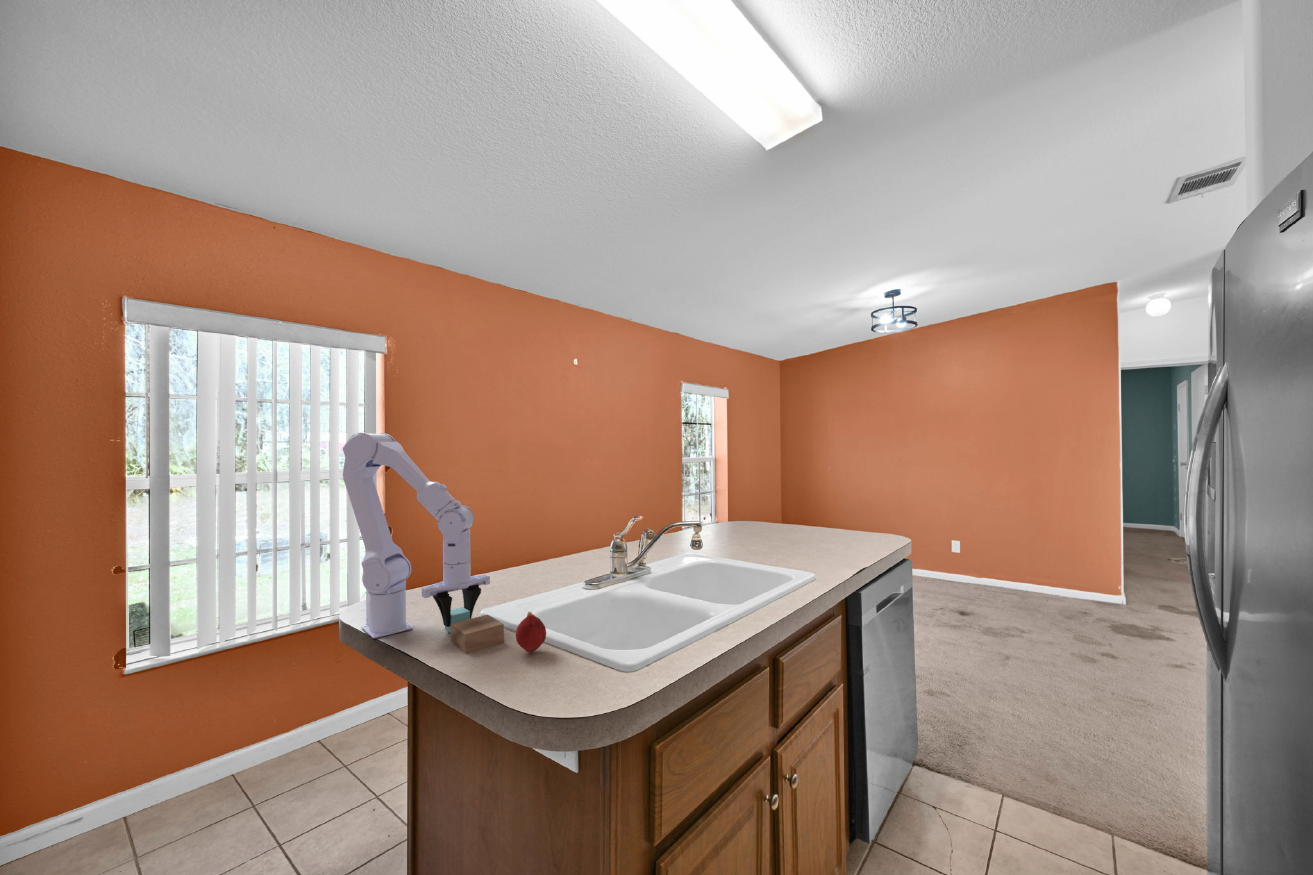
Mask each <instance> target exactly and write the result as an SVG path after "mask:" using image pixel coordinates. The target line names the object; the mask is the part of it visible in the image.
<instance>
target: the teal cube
mask: <svg viewBox="0 0 1313 875" xmlns="http://www.w3.org/2000/svg"><path fill="white" fill-rule="evenodd" d="M468 619H470V611H469V610H467V609H465V608H464V606H462V607H458V608H453V609H451V624H452V623H456V622H460V621H464V620H468ZM451 624H450V626H449V627H446V626H445V625H444V631H446V632H448V633H450V634H451Z"/></svg>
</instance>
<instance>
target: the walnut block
mask: <svg viewBox="0 0 1313 875" xmlns="http://www.w3.org/2000/svg"><path fill="white" fill-rule="evenodd" d="M504 626H505V623H503V622H502V621H499V620H497V619H496V618H495V617H493V616H491V615H489V614H484V615H481V616H477V617H471V619H468V620H464V621H460V622H456V623H452V624H451V633H450V642H451V643H452V644H453V645H455V646H456V647H457V648H458V649H459V650H460V651H461V652H463V653H464V654H468V653H471V652H475V651H477V650H481V649H485V648H488V647H491V646H496V645H499V644H503V643H504V642H505V633H504V631H505V630H504V629H505V627H504Z"/></svg>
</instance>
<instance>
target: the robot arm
mask: <svg viewBox="0 0 1313 875" xmlns="http://www.w3.org/2000/svg"><path fill="white" fill-rule="evenodd" d="M342 451H343V454H344V462H343V469H342V479H343V481H344V485H345V487H346V488H345V489H346V491H347V495H348V497H349V501H350V503H351V507H352V510H353V514H354V517H355V519H356V522H357V526H358V529H359V533H360V536H361V540H362V542H363V545H364V549H365V550H366V551H365V552H366V553H365V554H364V557H363V559H362V561H361V568H362V578H361V581H362V585H363V587H364V589H366V590H367V592H368V594H367V596H366V601H365V606H366V610H365V615H366V617H365V618H366V620H365V623H366V624H363V625H361V629H362V630H364V631H365V632H366V633H367V635H369V636H370V637H371V638H372V639H378V638H382V637H385V636H389V635H394V634H396V633H401V632H402V633H403V632H404V631H409V630H412V629H413V626H412V624H410V623H409V622H407V617H406V616H407V594H406V593H407V592H406V591H407V579H408V578H409V577H410V575H411V573H412V565H411V562H410V560H409V558H407V557H406V556H405V554H404V552H403V550H402V549H403V548H401V547H400V546H398V545H397V544H395V543H394V540H393V538H392V534H391V532H390V528H389V525H388V522H387V519H386V515H385V512H384V510H383V506H382V503H381V500H380V496H379V494H378V490H377V486H376V484H375V481H374V480H375V479H374V476H375V475H376V473H377V472H378V470H379V469H380V468H381V467H382V466H385V467H390V468H392V469H393V470H394V472H396V474H398V475H399V476H400V477H401V478H402V479H403V480H405V482H407V484H408V485H410V486H411V487H412V488H413V489H414V490H415V491H416V500H417V501H418V502H419V504H421V506H423V507H424V508H425V509H426V510H427V512H429V514H430V515H432V517H433V518H434V519H435V520H436V521H437V528H438V530H439V532H441V534H442V571H443V572H442V576H443V577H442V579H443V580H442V581H439V582H435V583H433V584H430V585H426V586H422V587H421V597H422V598H423V599H428V598H430V597H432V598H433V600H434V601H435V603H436V605H437V607H438V609H439V611H440V614H441V618H442V622H443V626H444V627H445V626H446V627H449V626H450V624H451V610H452V602H453V597H452V596H450V593H451V592H455V591H460V590H461V591H462V598H463V599H462V600H463V608H465V609H467V610H469V611H470V619H472V618H473V612H474V609H475V606H476V603H477V601H478V599H479V598H480V595H481V594H482V588H481V587H480V586H483V585H485V586H488V585H490V584H491V576H490V575H489V574H481V575H472V573H471V572H472V570H471V569H472V567H471V566H472V564H471V563H472V560H471V559H472V558H471V554H472V553H471V552H472V551H471V528H472V526H473V525H474V523H475V516H474V513H473V512H472V510H471V507H469V506H467V505H462V503H461V501H460V500H456V498H454V497H453V495H452V494H450V492H449V491H448V487H447V486H446V484H445V483H440V482H439V481H430V480H429V479H428V477H427V476H426V475H425V473H424V472H422V470H421V469H420V468H419V467H418V465H417V464H416V463H415V461H413V459H412V458H411V457H410V456H409V455H408V453H407V452H406V451H405V450H404V448H403V445H402V444H401V443H399V442H398V441H396V439H395V438H394V437H393V436H392V435H391V434H388V433H384V432H380V433H367V432H357V433H356V432H355V433H354V434H353V435H351V436H350V437H349V438H348V440H347V441H346V443H345V444H344V445H343V447H342ZM471 575H472V576H471Z"/></svg>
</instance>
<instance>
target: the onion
mask: <svg viewBox="0 0 1313 875" xmlns="http://www.w3.org/2000/svg"><path fill="white" fill-rule="evenodd" d="M515 631H516V632H515V641H516V643H517V644H518V646H519V647H520V648H522V650H524V651H525V652H527V653H528V654H532V653H534V652H535V651H536V650H537V649H539V648H540V647H541V646H542V645H543V644H544V642H545V640H546V638H547V629H546V626H545V624H544V622H543V621H542V620H541V619H540V617H537V616H536V615H535V614H533V613H532V611H527V614H526V617H524V618H523V619H522V620H521V621H520V622H519V624H518V625H517V627H516V630H515Z"/></svg>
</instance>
